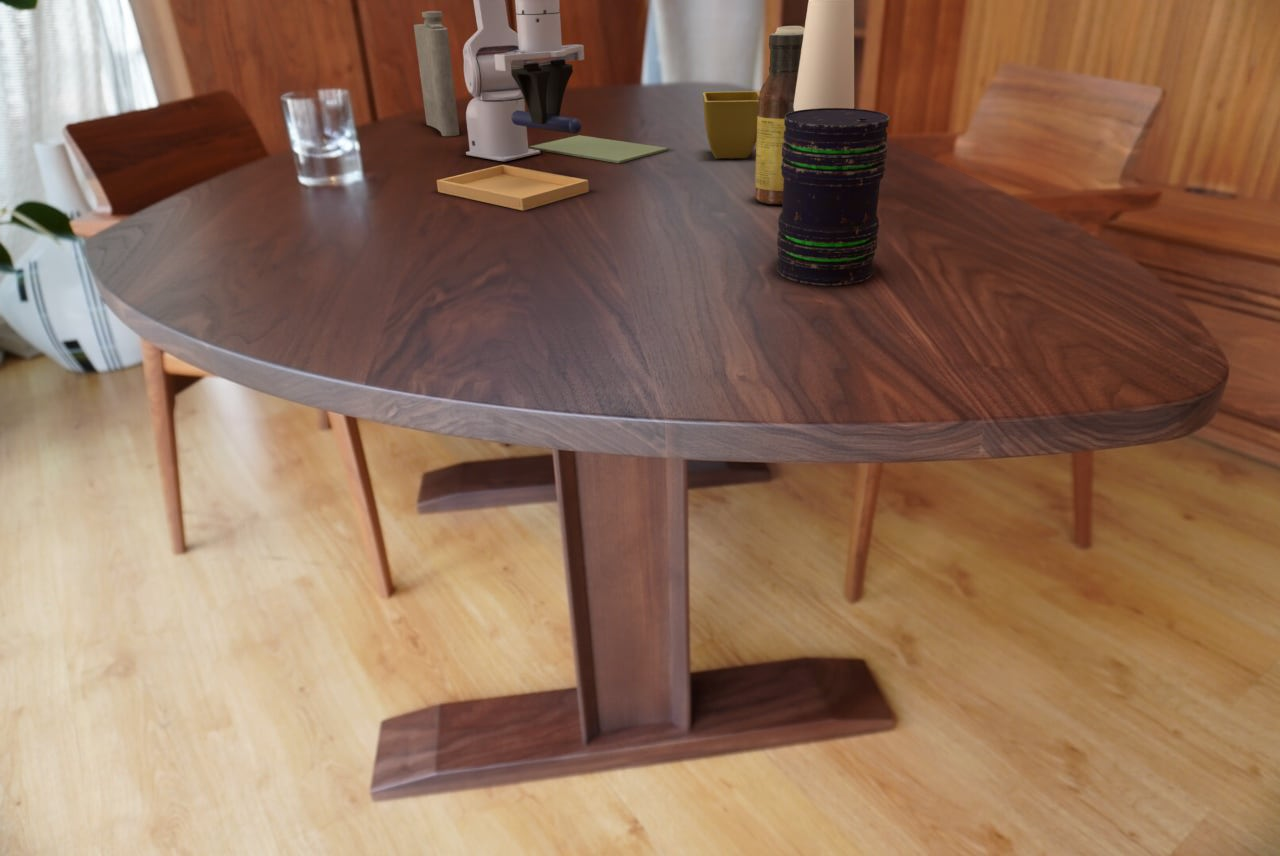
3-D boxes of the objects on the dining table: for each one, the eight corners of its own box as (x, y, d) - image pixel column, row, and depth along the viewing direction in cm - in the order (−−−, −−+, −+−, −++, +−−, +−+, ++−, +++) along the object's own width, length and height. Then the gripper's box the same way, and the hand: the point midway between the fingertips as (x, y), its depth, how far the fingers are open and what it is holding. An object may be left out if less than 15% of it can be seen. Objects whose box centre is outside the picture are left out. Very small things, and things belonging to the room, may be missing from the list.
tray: (437, 192, 125) (436, 180, 124) (503, 175, 133) (502, 164, 133) (523, 210, 115) (522, 198, 114) (588, 191, 123) (588, 180, 123)
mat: (529, 148, 150) (528, 146, 150) (579, 137, 158) (579, 135, 158) (619, 163, 139) (619, 160, 139) (668, 150, 147) (668, 147, 147)
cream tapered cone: (776, 218, 110) (787, -2, 98) (825, 211, 112) (841, -4, 100) (804, 232, 104) (819, 1, 93) (855, 225, 106) (876, -1, 95)
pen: (509, 125, 128) (507, 110, 127) (519, 123, 129) (518, 108, 129) (574, 135, 121) (573, 119, 120) (585, 133, 122) (584, 117, 121)
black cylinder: (755, 270, 92) (761, 117, 85) (813, 249, 98) (823, 104, 91) (837, 293, 86) (851, 129, 79) (893, 268, 92) (911, 114, 85)
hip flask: (425, 123, 174) (410, 9, 165) (445, 121, 176) (432, 8, 166) (443, 137, 162) (428, 14, 152) (466, 134, 163) (452, 12, 154)
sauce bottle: (801, 207, 114) (812, 35, 104) (751, 206, 115) (758, 36, 105) (804, 194, 119) (814, 30, 110) (756, 193, 120) (762, 31, 111)
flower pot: (761, 161, 138) (764, 99, 134) (704, 162, 138) (704, 100, 134) (756, 150, 146) (758, 90, 141) (701, 150, 146) (702, 91, 142)
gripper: (517, 18, 111) (526, 132, 117) (598, 10, 121) (602, 116, 127) (480, 16, 115) (490, 127, 122) (561, 9, 125) (567, 112, 131)
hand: (545, 121), depth 125 cm, fingers closed on pen, 2 cm apart
